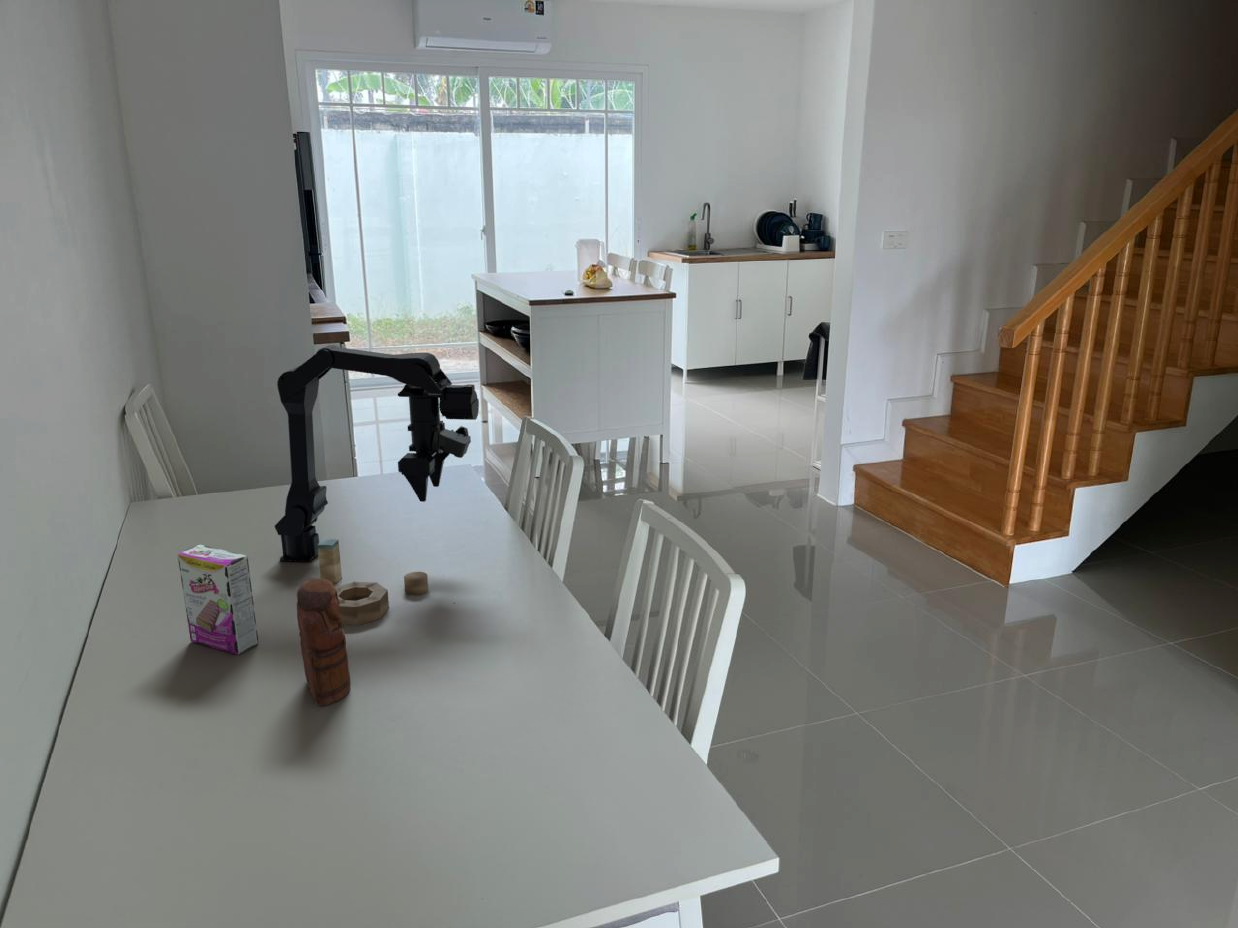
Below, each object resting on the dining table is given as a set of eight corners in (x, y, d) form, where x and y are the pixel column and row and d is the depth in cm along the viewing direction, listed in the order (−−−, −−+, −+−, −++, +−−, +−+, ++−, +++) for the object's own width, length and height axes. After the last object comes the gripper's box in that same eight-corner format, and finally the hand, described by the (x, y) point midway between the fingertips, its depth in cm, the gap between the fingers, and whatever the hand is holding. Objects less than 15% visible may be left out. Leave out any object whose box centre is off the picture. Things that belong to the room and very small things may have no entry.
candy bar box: (188, 643, 160) (175, 553, 155) (211, 630, 164) (199, 543, 159) (237, 656, 155) (225, 564, 151) (260, 643, 160) (249, 553, 155)
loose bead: (401, 595, 178) (400, 580, 177) (409, 585, 183) (408, 571, 182) (424, 596, 178) (423, 581, 177) (431, 586, 182) (430, 572, 181)
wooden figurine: (356, 700, 143) (346, 591, 137) (313, 710, 140) (301, 599, 135) (341, 665, 153) (331, 562, 147) (300, 674, 150) (289, 569, 145)
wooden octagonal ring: (317, 623, 167) (316, 605, 166) (340, 597, 177) (338, 580, 176) (375, 625, 166) (373, 607, 165) (394, 600, 176) (393, 583, 175)
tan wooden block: (321, 582, 183) (317, 544, 181) (327, 576, 186) (323, 538, 184) (336, 583, 183) (332, 545, 181) (341, 577, 186) (338, 539, 184)
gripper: (452, 431, 175) (457, 510, 180) (476, 408, 193) (480, 480, 197) (394, 430, 176) (400, 509, 181) (423, 406, 194) (428, 479, 198)
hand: (429, 493), depth 189 cm, fingers open, 9 cm apart
